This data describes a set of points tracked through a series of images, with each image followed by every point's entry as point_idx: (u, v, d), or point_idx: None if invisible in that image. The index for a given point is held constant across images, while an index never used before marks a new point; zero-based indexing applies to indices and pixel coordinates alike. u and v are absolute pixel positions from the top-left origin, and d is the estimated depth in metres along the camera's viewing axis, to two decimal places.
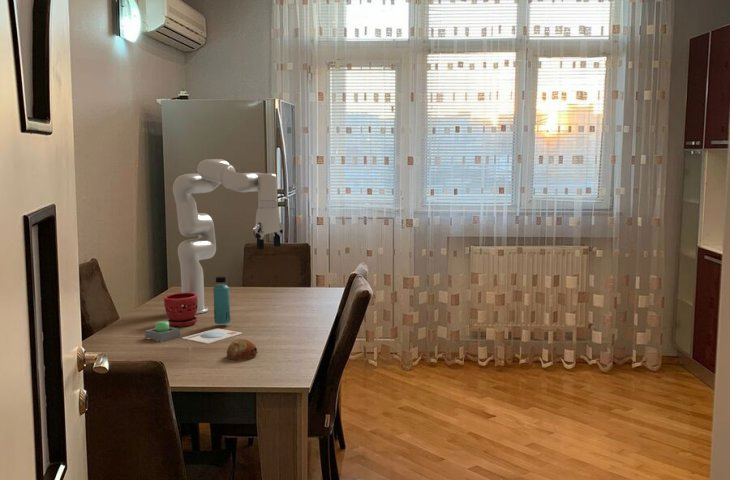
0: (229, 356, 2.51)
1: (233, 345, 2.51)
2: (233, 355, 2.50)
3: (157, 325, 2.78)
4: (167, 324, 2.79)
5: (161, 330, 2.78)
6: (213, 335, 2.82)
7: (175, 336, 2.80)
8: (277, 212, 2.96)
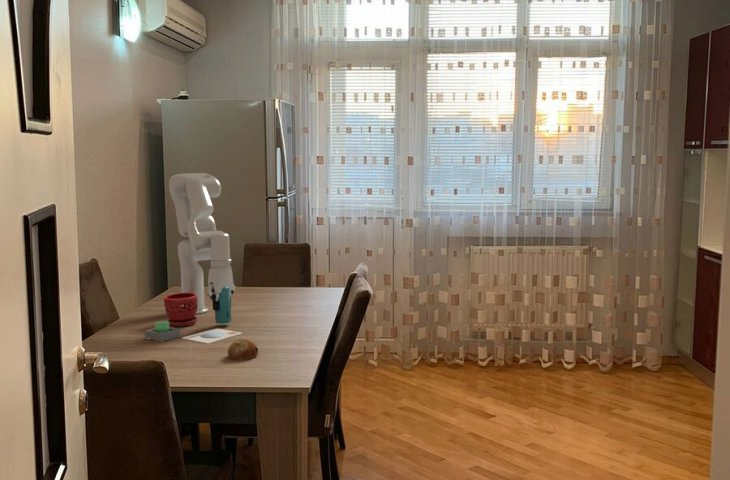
0: (230, 356, 2.51)
1: (234, 345, 2.52)
2: (234, 355, 2.50)
3: (157, 325, 2.78)
4: (167, 324, 2.79)
5: (161, 330, 2.78)
6: (213, 335, 2.82)
7: (175, 336, 2.80)
8: (230, 271, 2.98)
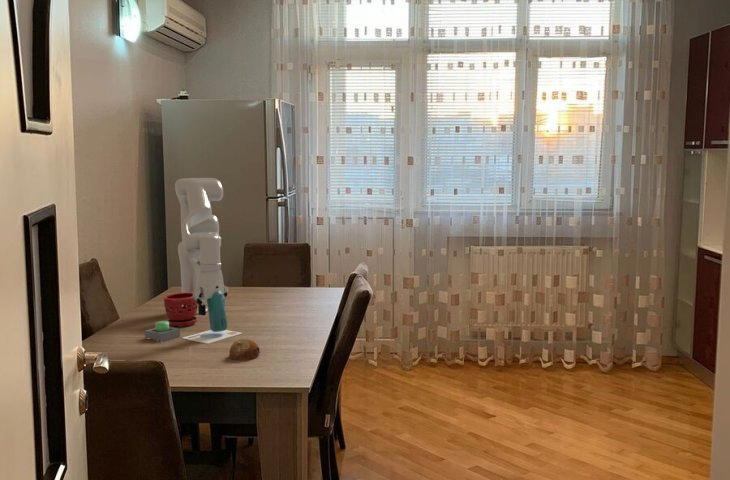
0: (232, 356, 2.51)
1: (236, 345, 2.52)
2: (236, 355, 2.50)
3: (157, 325, 2.78)
4: (167, 324, 2.79)
5: (161, 330, 2.78)
6: (213, 335, 2.82)
7: (175, 336, 2.80)
8: (220, 275, 2.81)
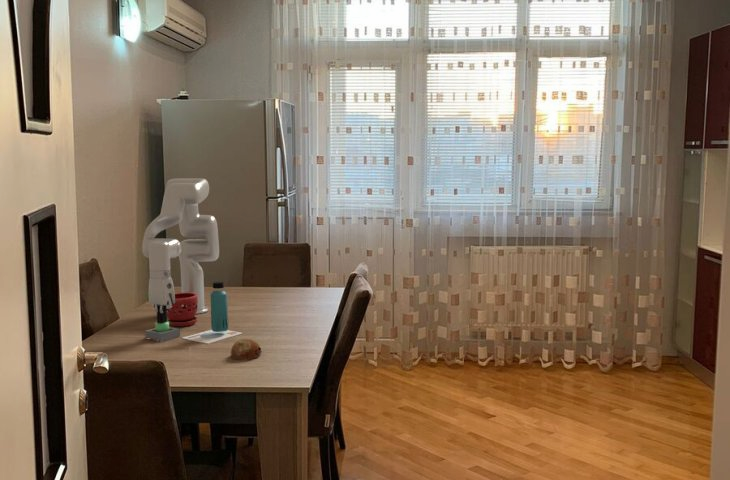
0: (233, 356, 2.51)
1: (237, 345, 2.52)
2: (237, 355, 2.50)
3: (157, 325, 2.78)
4: (167, 324, 2.79)
5: (161, 330, 2.78)
6: (213, 335, 2.82)
7: (175, 336, 2.80)
8: (161, 284, 2.75)
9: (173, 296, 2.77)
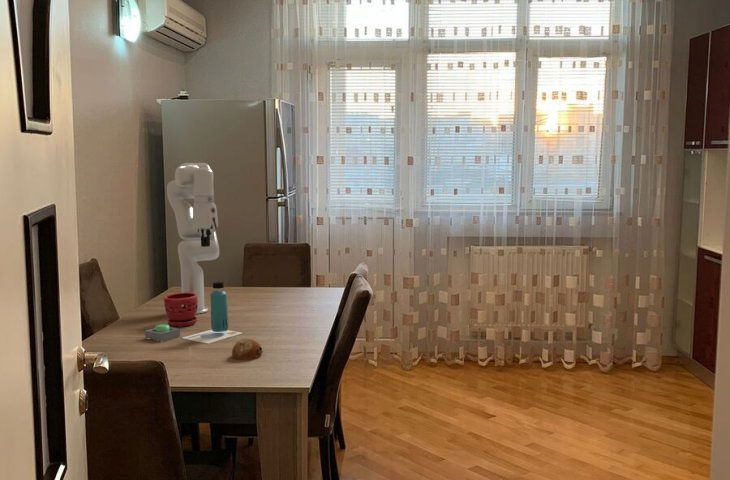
0: (234, 356, 2.51)
1: (238, 345, 2.52)
2: (238, 354, 2.50)
3: (157, 328, 2.78)
4: (167, 327, 2.80)
5: None
6: (213, 335, 2.82)
7: (175, 336, 2.80)
8: (205, 208, 2.90)
9: (216, 220, 2.93)
